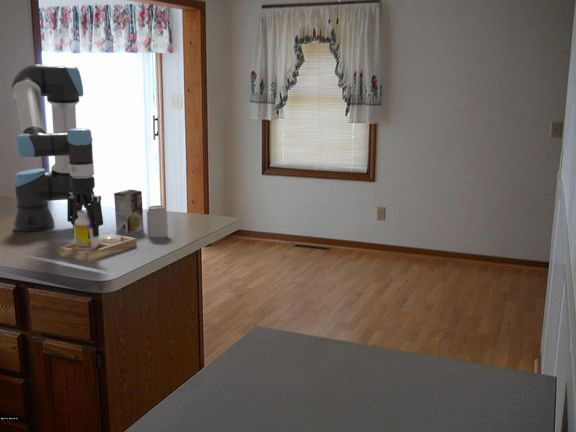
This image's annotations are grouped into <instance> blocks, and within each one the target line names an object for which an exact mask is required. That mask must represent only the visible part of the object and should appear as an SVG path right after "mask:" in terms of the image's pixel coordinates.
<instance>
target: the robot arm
mask: <svg viewBox="0 0 576 432" xmlns="http://www.w3.org/2000/svg"><path fill="white" fill-rule="evenodd" d="M81 77H82V76H81V72H80V70H79V68H78V67H77V66H76V65H71V64H39V63H37V64H36V63H35V64H30V65H28V66H25V67H23V68H22V69H21V70H19V71H18V73H17V74H16V75H15V76H14V78H13V80H12V84H11V92H12V93H11V94H12V96H13V97H14V99H15V100H16V104H17V112H18V120H19V125H20V126H19V127H20V132H21V133H19V134H17V135H16V137H15V138H16V139H15V140H16V150H17V155H18V156H19V157H21V158H40V157H43V158H44V157H54V164H53V165H52V166H51V171H47V170H46V169H45V168H40V167H39V168H31V169H25V170H22V171H19V172H17V173H16V174H15V175H14V185H13V186H14V189H15V191H14V192H15V200H16V213H15V218H14V221H13V230H14V231H17V232H21V233H22V232H24V233H25V232H27V233H28V232H29V233H30V232H31V233H32V232H41V231H48V230H49V229H50V230H51V229H53V228H54V227H55V220H54V218H53V215H52V213H51V211H50V208H49V202H52V201H66V200H67V201H66V202H67V203H66V204H67V210H66V211H67V214H66V215H67V222H68V223H71V224H72V233H73V234H74V243H75V244H76V235H75V220H76V219H77V218H78V215H77V211H80V210H83V207H84V208H85V210H86V211H87V214H88V217H89V220H90V223H91V227H90V242H91V247H94V246H97V245H99V244H98V236H100V233H99V232H100V231H99V228H100V226H103V225H104V218H103V211H102V204H101V203H102V201H101V200H102V196H101V195H96V194H95V192H94V189H95V187H96V184H95V182H96V181H95V176H94V175H95V166H94V155H93V153H94V152H93V137H92V131H91V129H89V128H82V127H81V128H77V114H76V113H77V111H76V105H77V104H78V103H79V102H80V98H81V97H83V96H84V87H83V81H82V78H81ZM40 97H46V99H47V102H48V103H49V104H50V105H51V116H52V117H51V118H52V131H53V133H50V132H49V133H47V132H46V128H45V122H44V116H43V110H42V106H41V99H40ZM94 222H95V223H94Z"/></svg>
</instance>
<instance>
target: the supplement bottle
mask: <svg viewBox="0 0 576 432" xmlns="http://www.w3.org/2000/svg"><path fill="white" fill-rule="evenodd" d="M77 215H78V218H77V219H76V220H75V235H76V248H77V249H78V250H82V251H88V250H93V249H95V248H96V247H97V246H94V247H91V242H90V227H91V223H90V220H89V217H88V214H87V211H86V209H82V210H80V211H77ZM94 223H95V222H94Z"/></svg>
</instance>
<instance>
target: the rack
mask: <svg viewBox="0 0 576 432" xmlns="http://www.w3.org/2000/svg"><path fill="white" fill-rule="evenodd" d="M103 235H115V234H114V233H104V234H99V236H98V237H100V236H103ZM120 236H121V242H119V243H116V244H113V245H110V244H105V243H99V242H98V244H99V245H97V247H96V248H95V249H93V250H88V251H82V250H78V249H77V248H76V244H75V242H73V243H69V244H66V245H63V246H59V247H58V256H59V257H63V258H69V259H73V260H77V261H78V260H79V261H84V262H87V263H88V262H89V263H90V262H91V263H92V262H93V261H97V260H100V259H102V258H105V257H107V256H111V255H114V254H117V253H120V252H121V253H122V252H124V251H126V250H130V249H132V248H133V249H134V248H135V247H137V245H138V244H137V238H136V237H131V236H124V235H120Z"/></svg>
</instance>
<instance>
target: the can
mask: <svg viewBox="0 0 576 432" xmlns="http://www.w3.org/2000/svg"><path fill="white" fill-rule="evenodd" d="M146 225H147V237H149V238H166V237H168V235H169V232H168V231H169V230H168V229H169V228H168V210H167V209H166V206H164V205H150V206H148V209H147V211H146Z"/></svg>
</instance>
